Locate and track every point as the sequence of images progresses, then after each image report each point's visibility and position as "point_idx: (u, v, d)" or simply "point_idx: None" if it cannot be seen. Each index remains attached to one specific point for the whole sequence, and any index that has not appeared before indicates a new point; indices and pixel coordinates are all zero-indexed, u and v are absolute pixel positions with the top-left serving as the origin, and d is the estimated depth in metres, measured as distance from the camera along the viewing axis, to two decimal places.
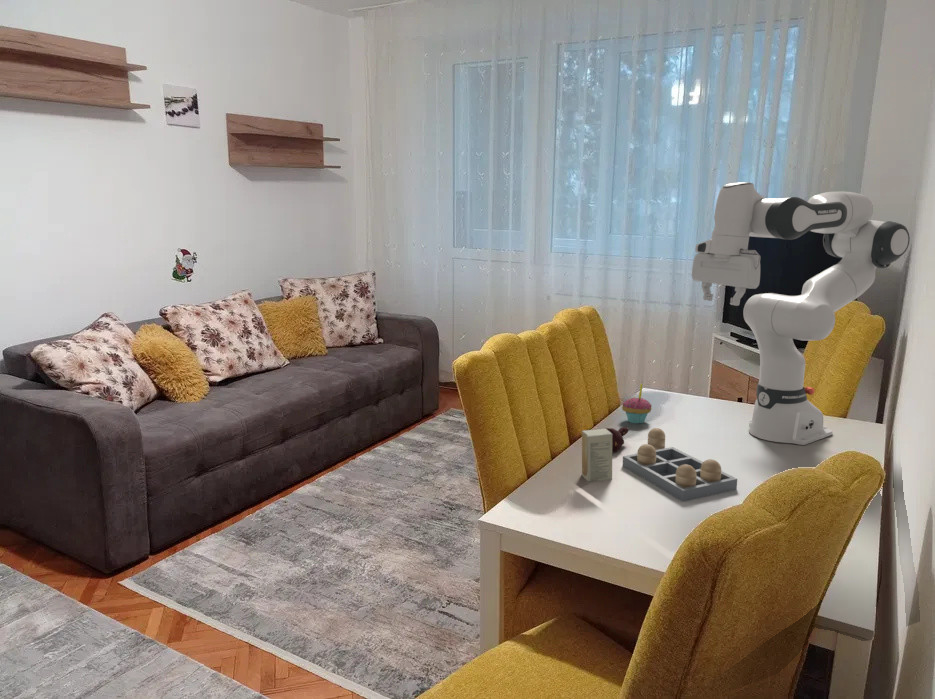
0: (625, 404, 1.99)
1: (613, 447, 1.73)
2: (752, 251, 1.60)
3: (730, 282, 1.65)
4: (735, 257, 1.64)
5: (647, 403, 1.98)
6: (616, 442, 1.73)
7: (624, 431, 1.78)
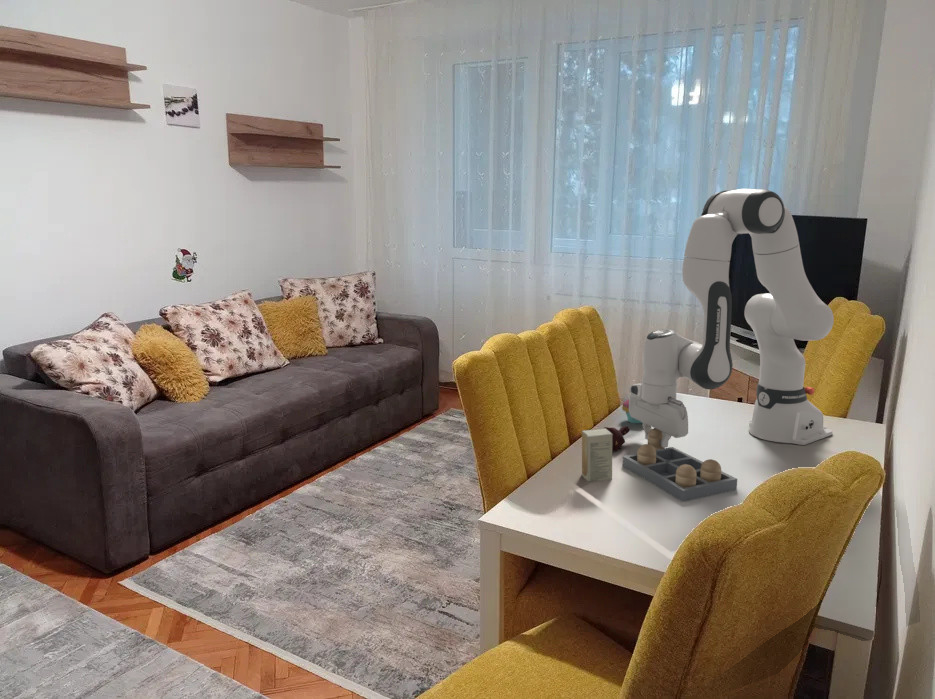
0: (625, 404, 1.99)
1: (613, 446, 1.74)
2: (678, 402, 1.66)
3: (661, 428, 1.71)
4: (664, 406, 1.69)
5: None
6: (616, 441, 1.74)
7: (625, 430, 1.78)
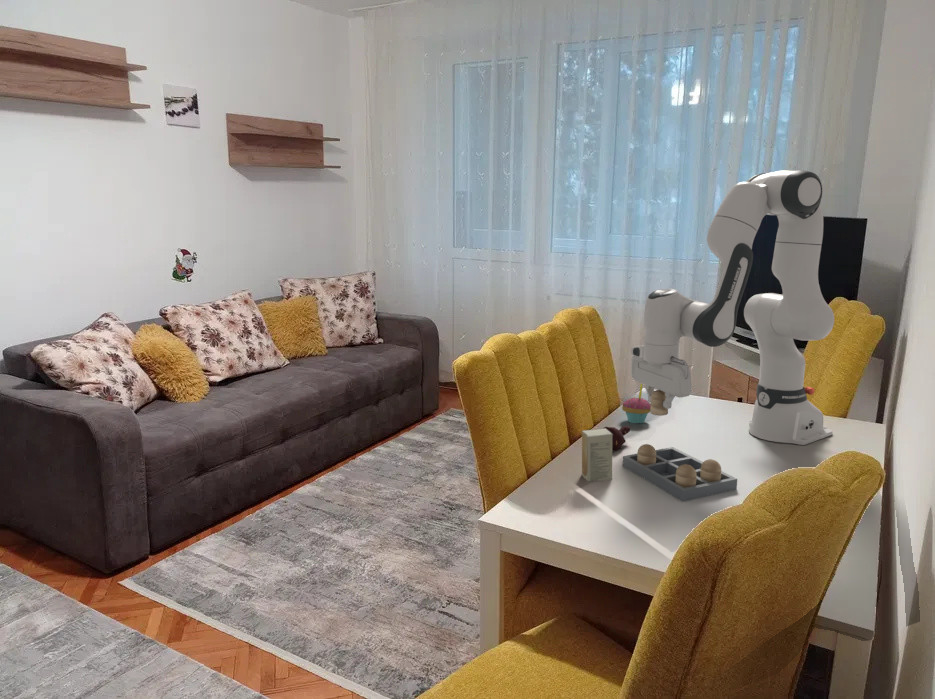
0: (625, 404, 1.99)
1: (613, 446, 1.74)
2: (681, 361, 1.64)
3: (664, 389, 1.69)
4: (666, 365, 1.67)
5: (647, 403, 1.98)
6: (616, 441, 1.74)
7: (625, 430, 1.79)
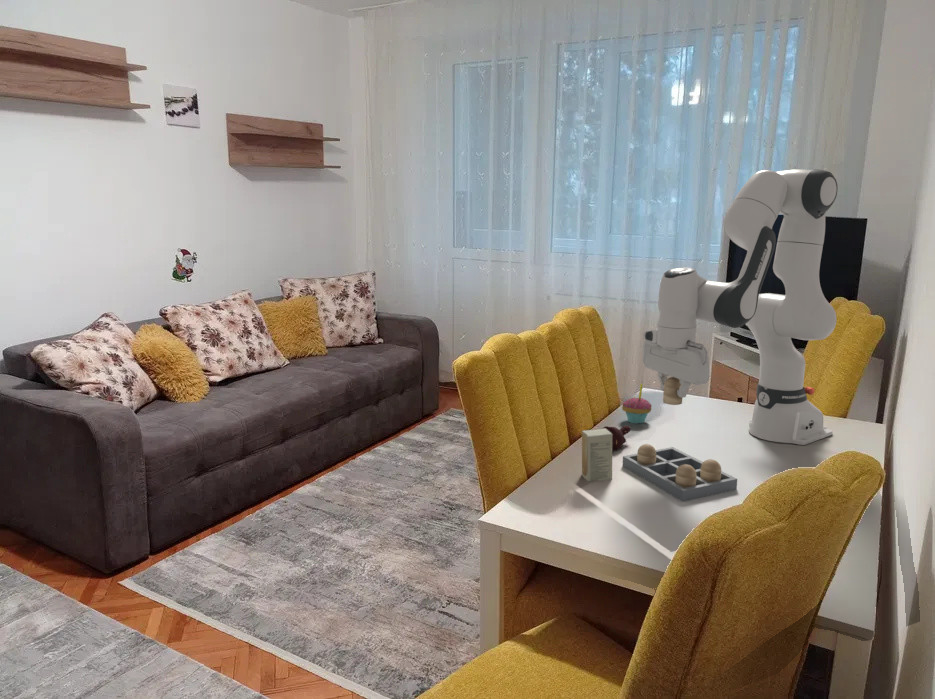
0: (625, 404, 1.99)
1: (614, 445, 1.75)
2: (699, 345, 1.51)
3: (679, 376, 1.56)
4: (682, 350, 1.54)
5: (647, 403, 1.98)
6: (617, 440, 1.74)
7: (626, 430, 1.79)
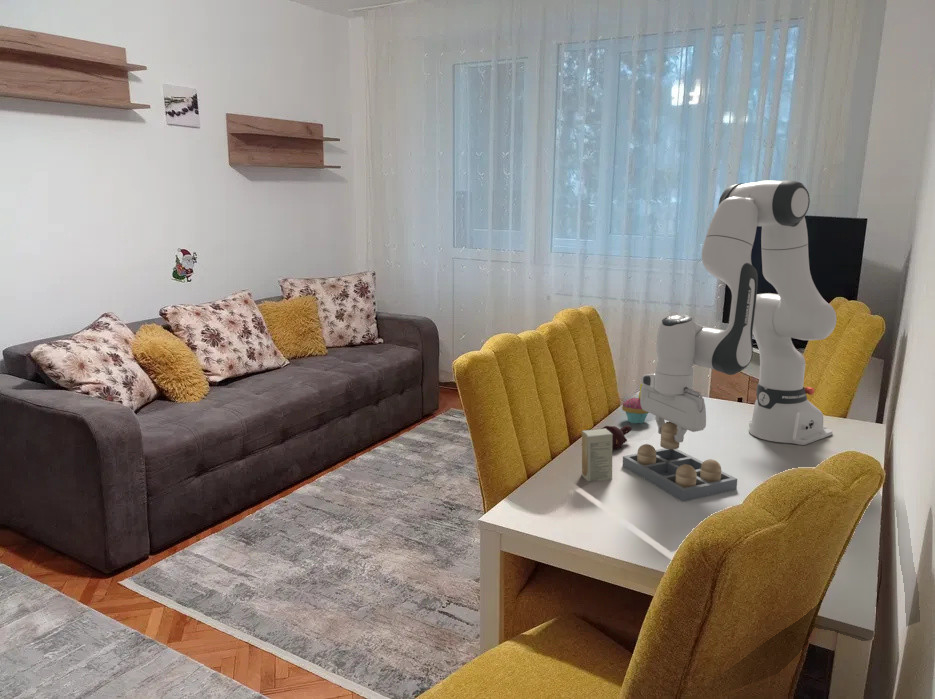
0: (625, 404, 1.99)
1: (614, 445, 1.75)
2: (695, 393, 1.53)
3: (676, 422, 1.58)
4: (679, 397, 1.57)
5: None
6: (617, 440, 1.74)
7: (626, 429, 1.79)
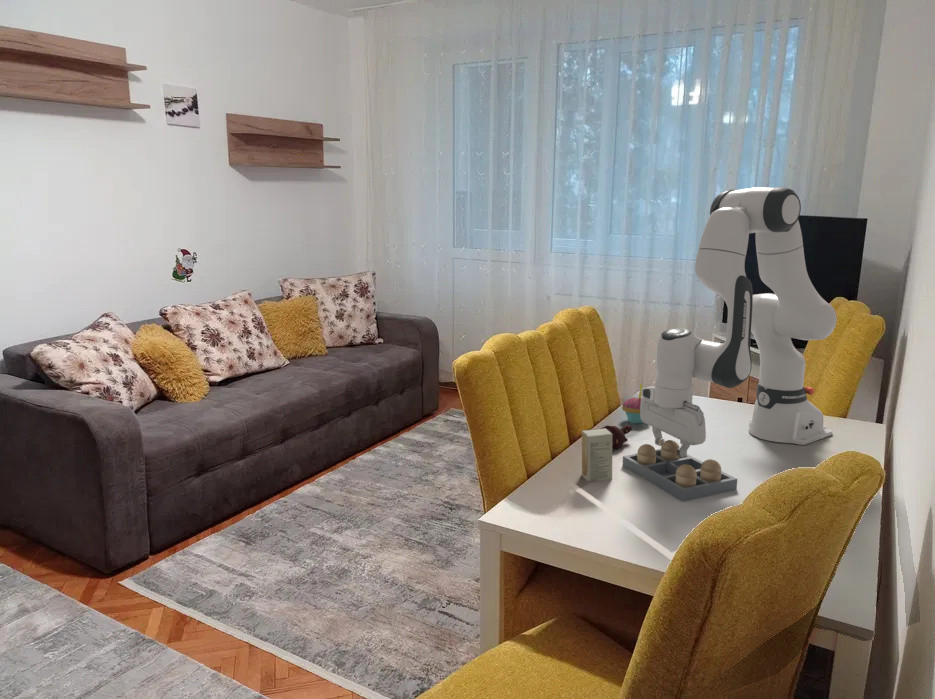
0: (625, 404, 1.99)
1: (614, 444, 1.75)
2: (695, 407, 1.54)
3: (676, 435, 1.59)
4: (679, 410, 1.57)
5: None
6: (617, 439, 1.75)
7: (627, 429, 1.79)
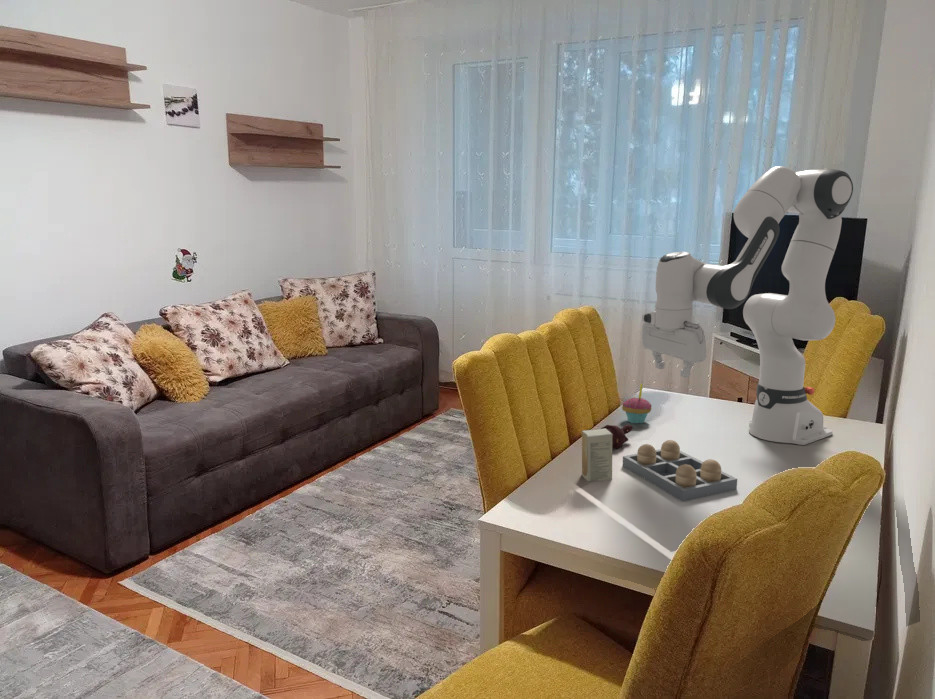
0: (625, 404, 1.99)
1: (614, 444, 1.76)
2: (695, 325, 1.59)
3: (678, 355, 1.64)
4: (680, 331, 1.62)
5: (647, 403, 1.98)
6: (617, 439, 1.75)
7: (628, 429, 1.80)
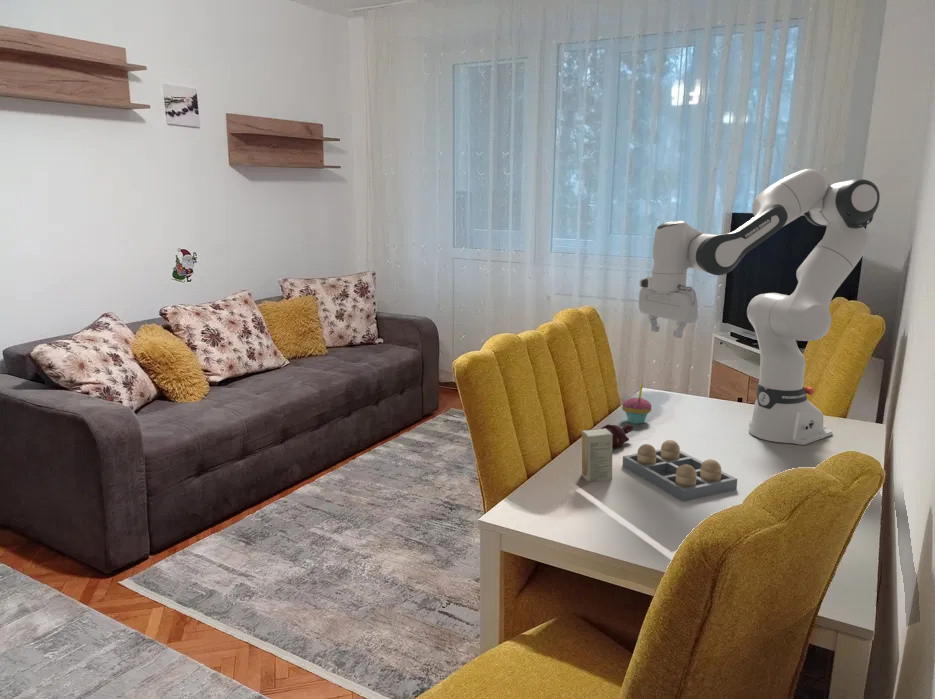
0: (625, 404, 1.99)
1: (615, 443, 1.76)
2: (688, 288, 1.70)
3: (671, 317, 1.75)
4: (674, 293, 1.74)
5: (647, 403, 1.98)
6: (618, 439, 1.75)
7: (628, 428, 1.80)
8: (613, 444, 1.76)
